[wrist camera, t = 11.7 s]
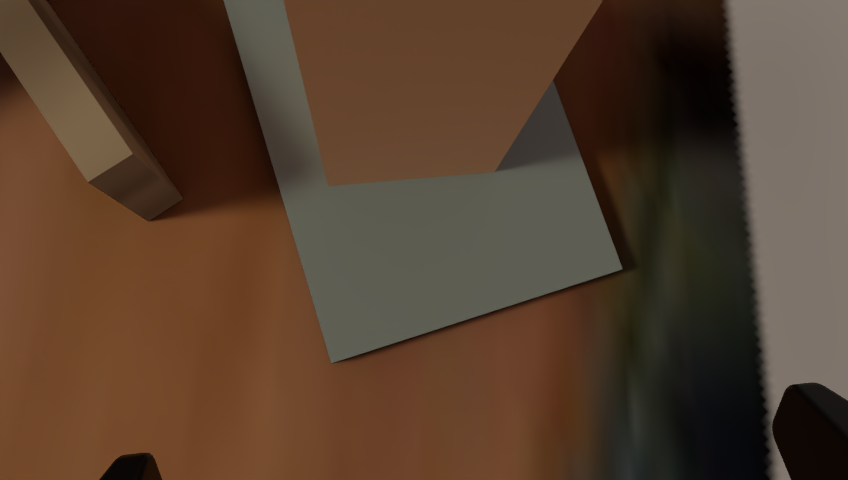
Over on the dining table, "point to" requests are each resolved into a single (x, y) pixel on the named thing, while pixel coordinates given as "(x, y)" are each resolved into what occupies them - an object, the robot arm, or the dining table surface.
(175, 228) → the dining table surface
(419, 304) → the slate mat
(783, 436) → the robot arm
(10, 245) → the dining table surface
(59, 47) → the beige u-shaped block
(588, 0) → the tan block
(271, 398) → the dining table surface
